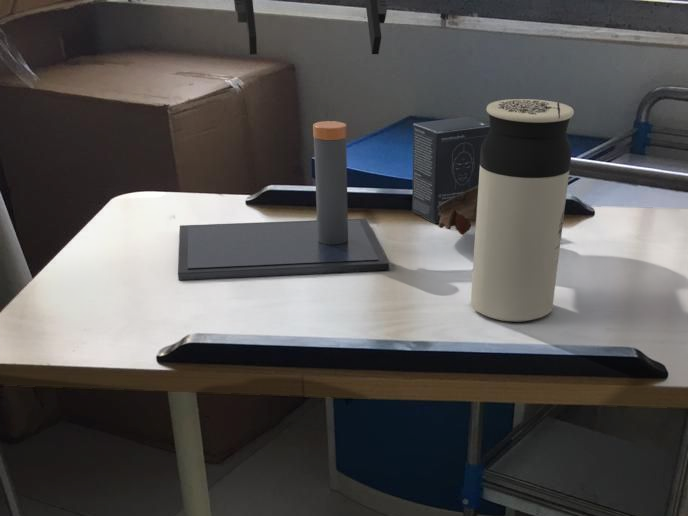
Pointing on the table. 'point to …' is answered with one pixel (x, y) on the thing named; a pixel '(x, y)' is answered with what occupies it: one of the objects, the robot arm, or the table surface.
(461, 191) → the box
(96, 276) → the table surface
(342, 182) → the bottle
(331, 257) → the tablet
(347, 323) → the table surface
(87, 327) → the table surface
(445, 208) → the brown jagged lump
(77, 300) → the table surface
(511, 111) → the travel mug
